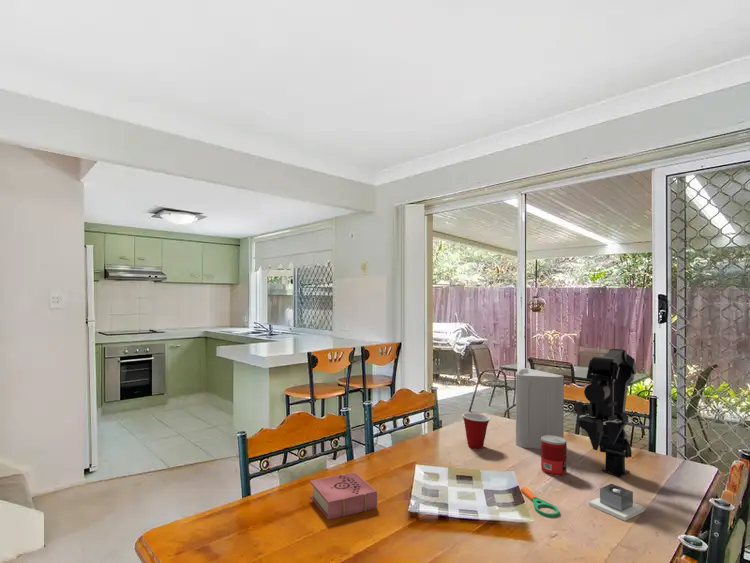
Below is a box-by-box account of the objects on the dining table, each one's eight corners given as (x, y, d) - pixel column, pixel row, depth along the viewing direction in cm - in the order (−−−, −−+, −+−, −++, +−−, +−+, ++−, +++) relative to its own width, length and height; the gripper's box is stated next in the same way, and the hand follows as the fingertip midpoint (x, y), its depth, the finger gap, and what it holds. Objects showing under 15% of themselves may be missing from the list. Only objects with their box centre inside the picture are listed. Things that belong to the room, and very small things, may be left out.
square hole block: (611, 497, 127) (611, 483, 127) (632, 506, 122) (632, 491, 122) (599, 502, 124) (599, 488, 124) (621, 511, 119) (621, 496, 119)
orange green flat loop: (563, 517, 118) (563, 511, 118) (543, 519, 117) (543, 513, 117) (532, 492, 133) (532, 486, 133) (514, 493, 132) (514, 488, 132)
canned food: (568, 477, 143) (568, 443, 143) (543, 475, 145) (543, 441, 145) (563, 468, 150) (563, 436, 151) (539, 466, 152) (539, 434, 152)
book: (329, 522, 114) (329, 503, 114) (310, 498, 128) (310, 480, 128) (377, 510, 121) (378, 492, 121) (354, 488, 134) (354, 471, 134)
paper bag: (500, 438, 180) (501, 370, 181) (527, 433, 187) (527, 368, 188) (537, 454, 163) (537, 379, 164) (564, 448, 170) (564, 376, 171)
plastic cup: (496, 449, 168) (496, 418, 168) (472, 452, 164) (472, 420, 164) (479, 440, 178) (479, 410, 178) (456, 443, 174) (456, 413, 174)
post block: (608, 496, 130) (608, 479, 130) (644, 511, 121) (644, 492, 121) (589, 505, 124) (589, 487, 124) (625, 521, 116) (625, 501, 116)
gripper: (595, 389, 149) (595, 435, 149) (562, 395, 139) (562, 444, 139) (629, 395, 140) (629, 444, 140) (596, 403, 130) (596, 456, 130)
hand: (603, 447), depth 137 cm, fingers open, 9 cm apart
